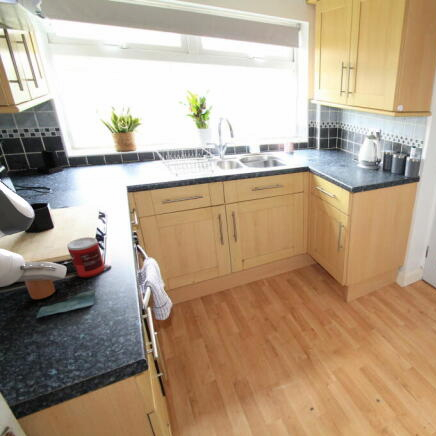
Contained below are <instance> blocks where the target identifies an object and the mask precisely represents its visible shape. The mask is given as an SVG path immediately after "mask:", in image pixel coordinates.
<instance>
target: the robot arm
mask: <svg viewBox="0 0 436 436" xmlns="http://www.w3.org/2000/svg"><path fill="white" fill-rule="evenodd" d="M35 215H36V214H35V210H34V209H33V207H32V205H31V204H30V203H29V202H28V200H26V199H24V197H23V196H21V195H20V194H19V193H17V192H16V191H15V190H13V189H12V188H11V187H9V186H8V185H7V184H6V183H5V182H4V181H3V180H2V179H1V178H0V239H2V238H4V237H7V236H13V235H15V234H19V233H22V232H26V231H27V230H28V229H30V227H31V225H32V224H33V223H34V220H35ZM66 275H67V266H65V265H63V264H59V263H55V262H50V261H33V262H31V261H29V262H26V260H25V258H24V257H23V256H22V254H19V253H16V252H14V251H10V250H7V249H4V248H1V247H0V288H1V287H8V286H10V285H12V284H14V283H17V282H20V283H25V282H24V281H39V280H52V281H55V280H56V281H57V280H63V279H65V277H66Z"/></svg>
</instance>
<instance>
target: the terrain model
mask: <svg viewBox="0 0 436 436" xmlns="http://www.w3.org/2000/svg"><path fill="white" fill-rule="evenodd" d="M96 291H97V290H96V289H94V290H90V291H84V292H80V293H79V294H77V295H74V296H73V297H71V298H70V299H68V300H66V301H62V302H57V303H54V304H51V305H45V306H41V307H40V308H39V310H38V312H37V315H36V317H35V319H39V318H41V317H44V316H51V315H54V314H57V313H65V312H68V311H69V312H70V311H71V310H76V309H82V308H86V307H89V306H92V305H94V302H95V296H96Z"/></svg>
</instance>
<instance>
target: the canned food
mask: <svg viewBox="0 0 436 436" xmlns="http://www.w3.org/2000/svg"><path fill="white" fill-rule="evenodd" d="M66 247H67V250H68V254H69V256H70V259H71V262H72V264H73V268H74V271H75V273H76V275H77V276H78V277H80V278H91V277H95V276H97V275H100V274H102V273H103V272H104V270H105V267H106V266H105V263H104V258H103V255H102V251H101V249H100V245H99V243H98V240H97V238H95V237H91V236H90V237H89V236H88V237H81V238H76V239H74V240H71V241H70V242H69V243H67V245H66Z"/></svg>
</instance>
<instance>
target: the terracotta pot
mask: <svg viewBox="0 0 436 436" xmlns="http://www.w3.org/2000/svg"><path fill="white" fill-rule="evenodd" d="M23 283H24V285H25V288H26V289H27V292H28V295H29V296H30V298H31V299H32V300H41V299H45V298H47V297H50V296H52V295H53V294H54V293H55V292H56V288H55V284H54V280H39V281H24V282H23Z"/></svg>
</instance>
